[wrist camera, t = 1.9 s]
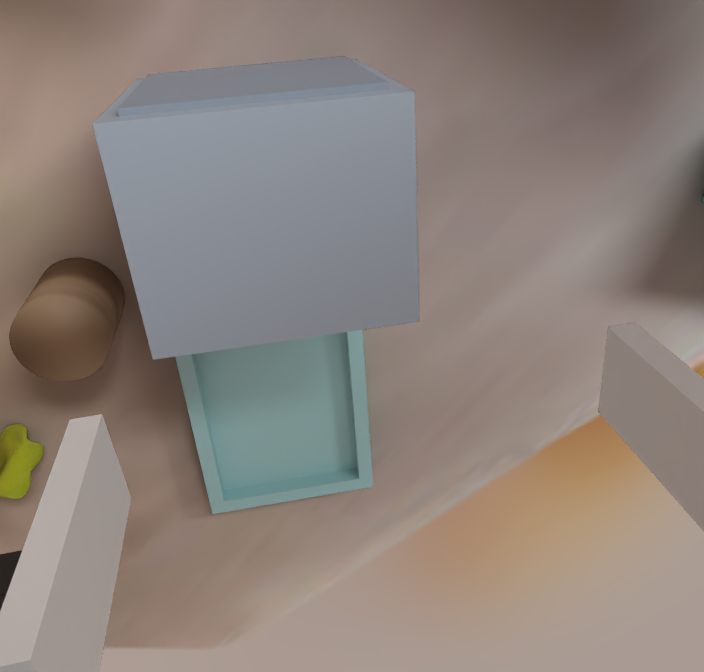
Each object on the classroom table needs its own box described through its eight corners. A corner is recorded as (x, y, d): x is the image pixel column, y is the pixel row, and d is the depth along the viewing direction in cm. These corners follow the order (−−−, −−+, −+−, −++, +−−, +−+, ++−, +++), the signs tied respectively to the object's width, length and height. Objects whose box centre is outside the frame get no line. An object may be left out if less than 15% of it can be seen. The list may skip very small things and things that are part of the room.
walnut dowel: (27, 263, 38) (-5, 306, 33) (113, 252, 39) (95, 293, 34) (52, 336, 41) (26, 387, 35) (132, 325, 41) (119, 374, 36)
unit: (135, 73, 34) (90, 115, 23) (355, 53, 36) (414, 82, 25) (175, 260, 40) (155, 369, 28) (366, 236, 41) (419, 330, 30)
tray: (166, 292, 41) (163, 306, 39) (353, 267, 42) (359, 280, 40) (212, 495, 49) (212, 514, 47) (368, 469, 50) (373, 486, 48)
